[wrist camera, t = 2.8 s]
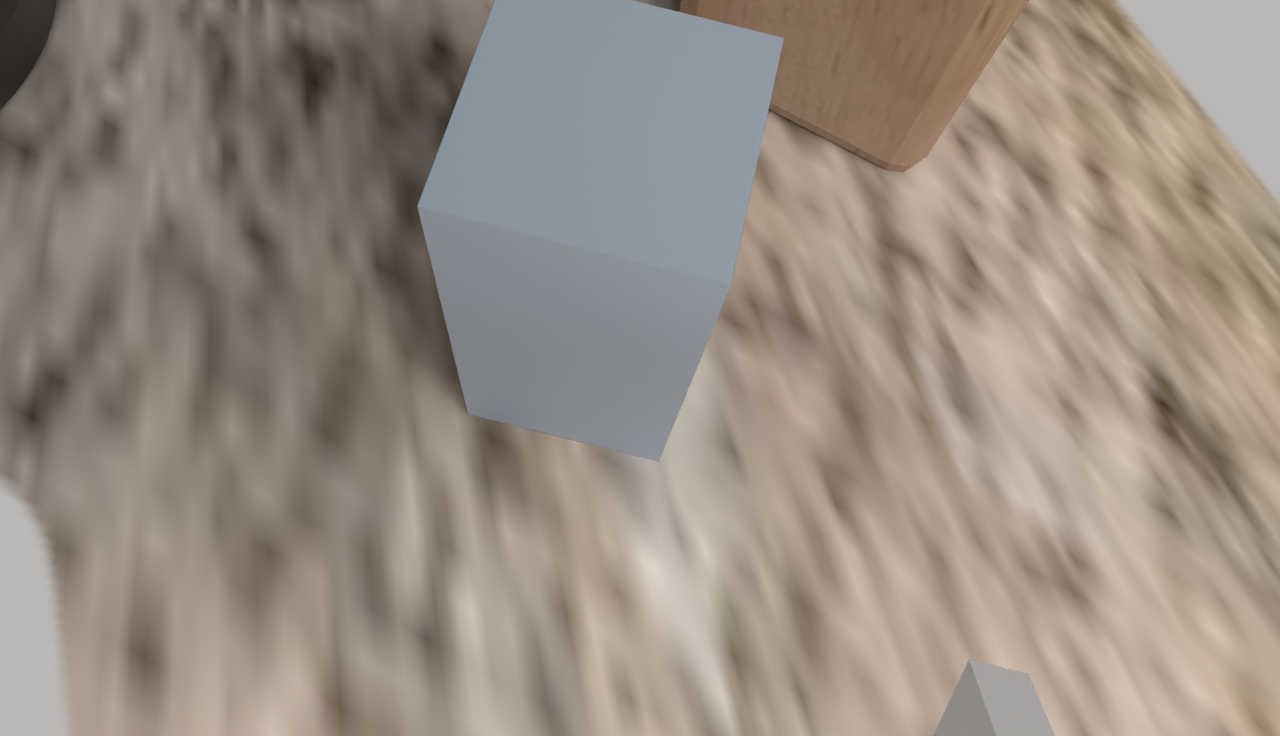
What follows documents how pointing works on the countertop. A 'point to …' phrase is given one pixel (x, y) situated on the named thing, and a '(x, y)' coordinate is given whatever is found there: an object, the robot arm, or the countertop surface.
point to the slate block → (594, 211)
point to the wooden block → (873, 65)
